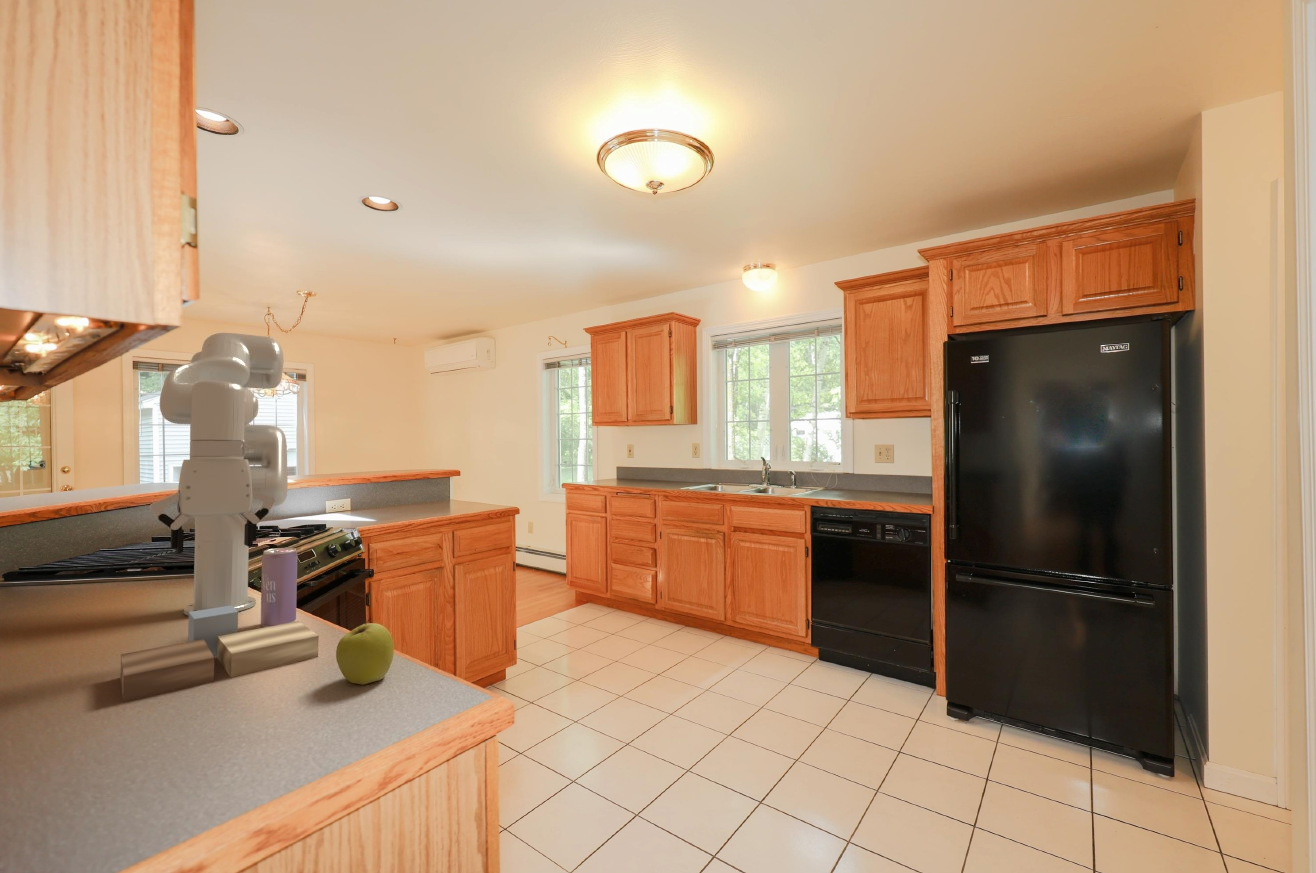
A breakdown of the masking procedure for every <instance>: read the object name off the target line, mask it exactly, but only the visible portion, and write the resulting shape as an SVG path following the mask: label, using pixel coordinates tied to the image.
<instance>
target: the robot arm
mask: <svg viewBox="0 0 1316 873" xmlns="http://www.w3.org/2000/svg"><path fill="white" fill-rule="evenodd" d="M283 352H284V351H283V349H282V347H281V345H280V343H279V342H278V341H277V340H276V339H274V338H273V337H270V336H262V335H252V334H245V333H235V332H219V333H218V332H217V333H214V334H211V335H210V336H208V337H207V338H206V339H205V340H204V341H203V343H202V347H201V350H200V351H198V352H196V353H195V354H193V356H192V357H191V359H190V362H189V363H185V364H182V365H179V366H177V367H175V368H173V369H172V370H171V371H170V372H168V374H167V376H166V377H165V379H164V382H163V384H162V385H163V386H162V388H161V391H160V397H159V410H160V413H161V416H162V417H163V419H165V420H166V421H167V422H169V423H172V424H175V425H176V424H177V425H190V430H189V431H190V432H189V435H190V436H189V440H190V441H189V459H183V461H182V463H181V469H180V473H179V477H178V478H179V480H178V488H177V492H176V493H173V494H171V495H168V496H166V497H164V498H161V499H160V500H157V501H155V502H152V503H151V504H150V505H149V508H150V510H151V511H152V513H153V514H154V516H155V517H156V518H157V520H159V522H161V523H163V524H164V525H165V526H167V527H168V528H169V529H170V549H175V551H174V552H175V553H176V554H183V553H184V543H185V542H184V539H185V538H184V537H185V536H184V534H185V529H183V528H182V527H183V525H184V524H185V523H187V521H188V520H189V519H190V518H194V561H193V562H194V566H193V568H194V569H193V601H192V602H193V603H190V604H188V605H186V606H185V607H184V608H183V614H184V615H185V616H187V617H189V612H192V611H198V610H205V609H211V608H217V607H223V606H230V605H232V606H233V607H234V608H235V609H236V610H237V611H238V612H242V611H244V610H248V609H250V608H252V607H254V606H255V605H256V604H257V603H256V602H257V599H256V598H255V597H252V596H248V594H249V592H248V591H249V587H248V586H249V549H250V548H249V547H253V546H254V545H253V544H254V543H253V542H256V541H257V534H258V533H257V532H258V531H257V530H258V529H257V528H258V526H257V525H258V524H259V523H260V521H261V520H262V519H264V518H265V516H267V515H268V514H269V512H270V510H271V509H272V508H273V507H277V506H281V505H282V504H283V503H284V502H285V501H286V498H287V496H288V445H287V438H286V437H287V436H286V434H285V433H284V431H283V430H282V429H281V428H280V427H279V426H276V425H267V424H266V425H265V424H250V423H252V422H253V421H254V420H255V418H257V416H258V413H259V401H258V398H257V396H256V395H255V394H254V392H252V390H250V389H262V390H263V389H264V390H265V389H266V390H269V389H275V388H277V387H278V386H279V385H280V383H281V381H282V378H283V372H284V371H283V370H284V353H283ZM175 503H176V510H177V513H178V515H176V517H174V518H172V517H170V516H169V515H167V513H166V511H165V509H164V508H166V507H167V506H170V505H172V504H175ZM256 508H259V509H258V510H257V511H256V512H255V513H254V512H252V509H256ZM240 515H241V516H242V517H243V518H245V520H244V519H243V518H242V517H241V516H240Z"/></svg>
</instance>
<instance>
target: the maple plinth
mask: <svg viewBox="0 0 1316 873" xmlns="http://www.w3.org/2000/svg"><path fill="white" fill-rule="evenodd" d="M319 638H320V637H319V635H318V634H317V633H315V632H314V631H313V630H311V629H310V628H309V627H308V626H306V625H304V624H303V623H302V622H301V621H299V620H298V621H296V620H295V621H294V622H291V623H286V624H280V625H275V626H270V627H259V628H255V629H254V628H253V629H250V630H244V631H240V632H238V633H232V634H227V635H222V636H217V656H216V658H217V660H218V661H219V662H220V664H221V665H222V667H223V668H224V670H225V671H226V673H227V674H228V675H229V677H230V678H234V677H239V676H243V675H248V674H252V673H255V672H260V671H263V670H268V669H269V670H270V669H272V668H276V667H282V666H286V665H289V664H294V663H299V662H303V661H307V660H311V659H315V658H316V659H317V658H319V642H320V641H319V640H320V639H319Z"/></svg>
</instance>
